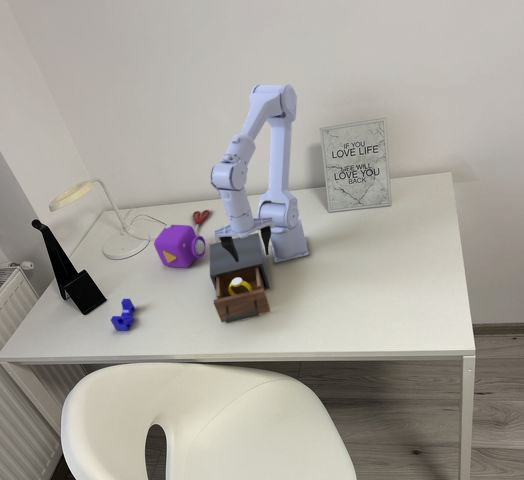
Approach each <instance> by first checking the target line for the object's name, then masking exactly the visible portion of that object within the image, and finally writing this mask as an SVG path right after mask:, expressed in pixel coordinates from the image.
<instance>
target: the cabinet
mask: <svg viewBox="0 0 524 480" xmlns="http://www.w3.org/2000/svg"><path fill="white" fill-rule="evenodd" d="M232 239H233V243H234V246H235V248H236V251H237V253H238V257H239V262H236V261H235V259H234V258H233V256H232V255H231V254H230V253H229V252H228V251H227V250H226V249H224V248H223V247H222V245H221V241H217V242H214V243H210V244H209V278H210V280H211V282H212V285H213V287H214V291H215V293H216V294H217V292H216V277H218V276H222V275H226V274H231V273H235V272H239V271H243V270H247V269H252V268H256V267H260V270H261V274H262V277H263V281H264V289H265V291H267V290H270V289H271V285H270V278H269V271H268V262H267V255H266V253H265V249H264V245H263V242H262V238H261V235H260V233H259V232H254V233H250V234H249V236H248V237H245V238H240V236H238V237H235V238H232Z"/></svg>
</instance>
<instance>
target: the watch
mask: <svg viewBox="0 0 524 480" xmlns="http://www.w3.org/2000/svg"><path fill="white" fill-rule="evenodd" d="M240 285H243V286H245V287H246V288H247V289H248V290H249V291H253V289H252V287H251V285H250V284H248V283H247V282H245V281H242V279H241V278H239V277H238V278H235V279H233V280H232V282H231V283H230V286H229V289H228V291H229V294H230V295H231V296H233V295H237V294H235V293H234V292H233V291H232V289H231V286H234V287H238V286H240Z"/></svg>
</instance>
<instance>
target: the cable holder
mask: <svg viewBox="0 0 524 480" xmlns="http://www.w3.org/2000/svg"><path fill="white" fill-rule="evenodd" d="M120 303H121V306H122V312H121V314H120V315H113V316H112V317H111V319H110V322H111V324H112V325H113V327H114V329H115V330H116V332H129V330H130V329H131V327H132V325H133V324H134V322H135V319H134V317H133V315H134V313H135V311H136V310H137V309H136V307H135V306H134V304H133V302H132V300H131V298H122V300H121V302H120Z"/></svg>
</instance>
